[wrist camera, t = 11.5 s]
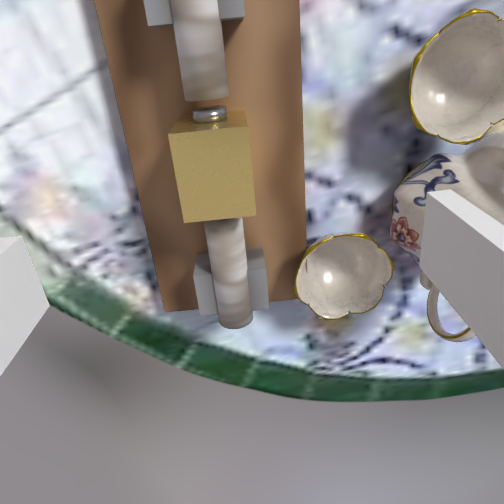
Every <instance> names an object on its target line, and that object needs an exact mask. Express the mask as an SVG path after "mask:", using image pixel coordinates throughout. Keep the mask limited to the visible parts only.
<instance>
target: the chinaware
mask: <svg viewBox="0 0 504 504" xmlns="http://www.w3.org/2000/svg"><path fill="white" fill-rule="evenodd" d="M498 19H499V16H497V15H495V14H494V13H493V12H491V11H488V10H480V9H478V8H473V9H470V10H468V11H466V12H465V13H464V14H462V15H460V16H458V17H457V18H455V19H454V20H452V21H451V22H450V23H449V24H447V25H446V26H445V27H444V28H442V29H441V30H440V32H439V33H437V34H435V35H434V36H433V37H432V38H431V39H430V40H429V41H428V42H427V43H426V44H425V45H424V46H423V48H422V49H421V50H420V51H419V52H418V53H417V54H416V55H415V57H414V59H413V61H412V69H411V74H410V81H409V93H410V95H409V97H410V110H411V114H412V121H413V124H414V125H415V126H416V127H417V128H418V129H420V130H422V131H423V132H424V133H426V134H429V135H432V136H435V137H436V136H437V135H438V137H439V138H440V139H443V140H445V141H448V142H450V143H455V144H461V145H467V144H470V143H471V142H473V141H475V140H477V139H479V138H481V137H482V136H483V135H484V134H485V133H486V132H487V131H488V130H489V129H490V128H491V125H490V124H494V125H495V124H496V123H498V122H500V121H502V120H504V19H500V20H498ZM442 190H452V191H454V192H455V193H457V194H458V195H460V196H461V197H463V198H464V199H466V200H467V201H468V202H470V203H471V204H473V205H474V206H476V207H477V208H479V209H480V210H482V211H483V212H485V213H486V214H488V215H489V216H491V217H492V218H494V219H495V220H496V221H498V222H499V223H501V224H502V225H504V132H501V133H495V134H491V135H489V136H487V137H485V138H484V139H482V140H481V141H479V142H478V143H476V144H475V145H473V146H472V147H471V148H469V149H468V150H466V151H465V152H464V153H462V154H460V155H449V154H443V153H439V154H435V155H433V156H431V157H430V158H429V159H428V160H426V161H424V162H422V163H420V164H419V165H417V166H416V167H414V168H413V169H412V170H411V171H409V172H408V173H407V174H406V176H405V177H404V178H403V179H402V181H401V182H400V184H399V185H398V187H397V189H396V190H395V193H394V197H393V202H392V214H393V215H392V222H391V227H390V237H391V239H392V240H393V241H394V242H395V243H397V244H398V245H400V246H401V247H402V248H403V249H404V250H406V251H407V252H408V253H409V254H410V255H411V257H412V258H413V259H414V260H415V261H416V262H417V263H418V264H420V254H421V244H422V235H423V225H424V216H425V206H426V196H427V192H433V191H442ZM378 246H379V245H378V244H377V243H376V242H375V241H374V240H373V239H371V238H370V237H368V236H367V235H366V234H364V233H350V234H348V233H333V234H328V235H326V236H324V237H321V238H320V239H318V240H317V241H315V242H314V243H313V244H312V245H311V246H310V247H309V248H308V249H307V251H306V253H305V254H304V256H303V258H302V260H301V262H300V264H299V268H298V270H297V273H296V276H295V280H294V287H293V292H294V294H295V295H296V296H297V297H298V299H299V300H300V301H301V302H303V303H305V304H306V305H307V304H309V307H310V308H311V310H312V311H313V312H314V313H315V315H316V317H317V318H318V319H325V320H334V319H340V318H342V317H344V316H346V315H348V312H350V313H364V312H367V311H369V310H372V309H374V308H375V307H376V306H377V304H378V303H379V302H380V300H381V299H382V296H383V292H384V288H385V287H384V286H383V285H386V284H387V283H388V282H389V281H390V279H391V278H392V275H393V270H394V263H393V262H392V261H391V259H390V257H389V256H388V254H387V253H386V252H385V251H384V250H383V249H382V248H381V247H378ZM306 259H307V272H306V267H305V263H306ZM420 283H421V285H422V286H423V287H424V288H426V289H427V290H429V289H430V292H429V295H428V300H427V316H428V321H429V323H430V326H431V327H432V329H433V330H434V332H435V333H436V334H437V335H438V336H440V337H441V338H443V339H445V340H448V341H453V342H463V341H467V340H469V339H472V338H473V337H475V336H476V335H475V334H474V332H473V331H472V330H471V329H470V328H469V327H468V328H467V329H466V330H464V331H462V332H460V333H458V334H450V333H448V332H446V331H445V330H444V328H443V327H442V325H441V323H440V321H439V318H438V312H437V302H438V296H439V292H440V291H439V290H438V289H437V288H436V286H435V285H434V284H433V283H432V282H431V280H430V279H429V278H428V277H427V276H426V274H425V273H424V272H423V271H422V273H421V275H420Z"/></svg>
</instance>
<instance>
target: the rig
mask: <svg viewBox="0 0 504 504" xmlns="http://www.w3.org/2000/svg"><path fill="white" fill-rule="evenodd" d="M94 2H95V7H96V11H97V16H98V20H99V24H100V29H101V33H102V38H103V42H104V46H105V51H106V55H107V60H108V64H109V68H110V73H111V77H112V81H113V86H114V90H115V95H116V99H117V103H118V108H119V112H120V117H121V121H122V125H123V130H124V134H125V139H126V143H127V147H128V152H129V156H130V160H131V165H132V169H133V174H134V178H135V182H136V187H137V191H138V196H139V200H140V204H141V209H142V213H143V217H144V222H145V226H146V231H147V235H148V239H149V244H150V248H151V253H152V257H153V261H154V266H155V270H156V275H157V279H158V283H159V288H160V292H161V296H162V301H163V305H164V310H165V312H173V311H183V310H193V309H199V311H200V316H205V315H215V314H218V316H219V322H220V324H221V325H222V326H223V327H225V328H228V329H239V328H243V327H245V326H247V325H248V324H250V323H251V321H252V319H253V313H252V311H255V310H265V309H269V302H272V301H282V300H292V299H298V297H297V296H296V295H295V294H294V292H293V287H294V280H295V276H296V273H297V270H298V268H299V264H300V262H301V260H302V258H303V256H304V254H305V253H306V251H307V244H306V210H305V177H304V143H303V109H302V75H301V42H300V8H299V0H94ZM218 105H222V106H226V108H227V111H235V110H245V113H246V118H247V122H248V128H249V139H250V150H251V161H252V172H253V183H254V193H255V204H256V215H257V216H248V217H239V218H229V219H219V220H209V221H200V222H190V223H184V220H183V215H182V209H181V204H180V198H179V193H178V187H177V182H176V176H175V171H174V165H173V160H172V154H171V149H170V143H169V138H168V133H169V132H170V130H171V129H172V127H173V126H174V124H175V123H176V121H177V120H178V119H179V117H180V116H186V115H192V111H191V110H192V109H195V108H200V107H206V106H218ZM305 267H306V272H307V259H306V263H305Z"/></svg>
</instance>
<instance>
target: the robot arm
mask: <svg viewBox="0 0 504 504" xmlns="http://www.w3.org/2000/svg"><path fill="white" fill-rule="evenodd" d="M419 267H420V268H421V270H422V271H423V272H424V273H425V274H426V276H427V277H428V278H429V279H430V280H431V282H432V283H433V284H434V285H435V286H436V288H437V289H438V290H439V291H440V293H441V294H442V295H443V296H444V297H445V299H446V300H447V301H448V302H449V303H450V305H451V306H452V307H453V308H454V309H455V311H456V312H457V313H458V314H459V316H460V317H461V318H462V319H463V320H464V322H465V323H466V324H467V325H468V326H469V328H470V329H471V330H472V331H473V332H474V334H475V335H476V336H477V337H478V339H479V340H480V341H481V342H482V343H483V345H484V346H485V347H486V348H487V349H488V351H489V352H490V353H491V354H492V355H493V357H494V358H495V359H496V360H497V362H498V363H499V364H500V365H501V366H502V368H503V369H504V225H502V224H501V223H499V222H498V221H496V220H495V219H494V218H492V217H491V216H489V215H488V214H486V213H485V212H483V211H482V210H480V209H479V208H477V207H476V206H474V205H473V204H471V203H470V202H468V201H467V200H466V199H464V198H463V197H461V196H460V195H458V194H457V193H455V192H454V191H452V190H442V191H433V192H427V196H426V206H425V216H424V225H423V235H422V244H421V254H420V264H419ZM48 307H49V303H48V301H47V298H46V296H45V293H44V291H43V288H42V286H41V283H40V280H39V278H38V275H37V273H36V270H35V268H34V265H33V263H32V260H31V258H30V255H29V253H28V250H27V248H26V245H25V243H24V240H23V238H22V236H15V237H6V238H0V376H1V375H2V373H3V372H4V370H5V369H6V367H7V366H8V364H9V363H10V362H11V360H12V359H13V357H14V356H15V354H16V353H17V352H18V350H19V349H20V347H21V346H22V345H23V343H24V342H25V340H26V339H27V337H28V336H29V334H30V333H31V332H32V330H33V329H34V327H35V326H36V325H37V323H38V322H39V320H40V319H41V317H42V316H43V314H44V313H45V312H46V310H47V309H48Z"/></svg>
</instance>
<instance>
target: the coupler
mask: <svg viewBox="0 0 504 504" xmlns="http://www.w3.org/2000/svg"><path fill="white" fill-rule="evenodd" d="M191 111H192V115H186V116H180V117H179V119H178V120H177V121H176V123H175V124H174V126H173V127H172V129H171V130H170V132H169V133H168V138H169V143H170V149H171V154H172V160H173V165H174V171H175V176H176V182H177V187H178V193H179V198H180V204H181V209H182V215H183V220H184V223H190V222H200V221H209V220H219V219H229V218H239V217H248V216H257V215H256V204H255V193H254V183H253V172H252V161H251V150H250V139H249V128H248V122H247V118H246V113H245V110H235V111H227V108H226V106H222V105H218V106H206V107H200V108H195V109H192V110H191Z"/></svg>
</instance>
